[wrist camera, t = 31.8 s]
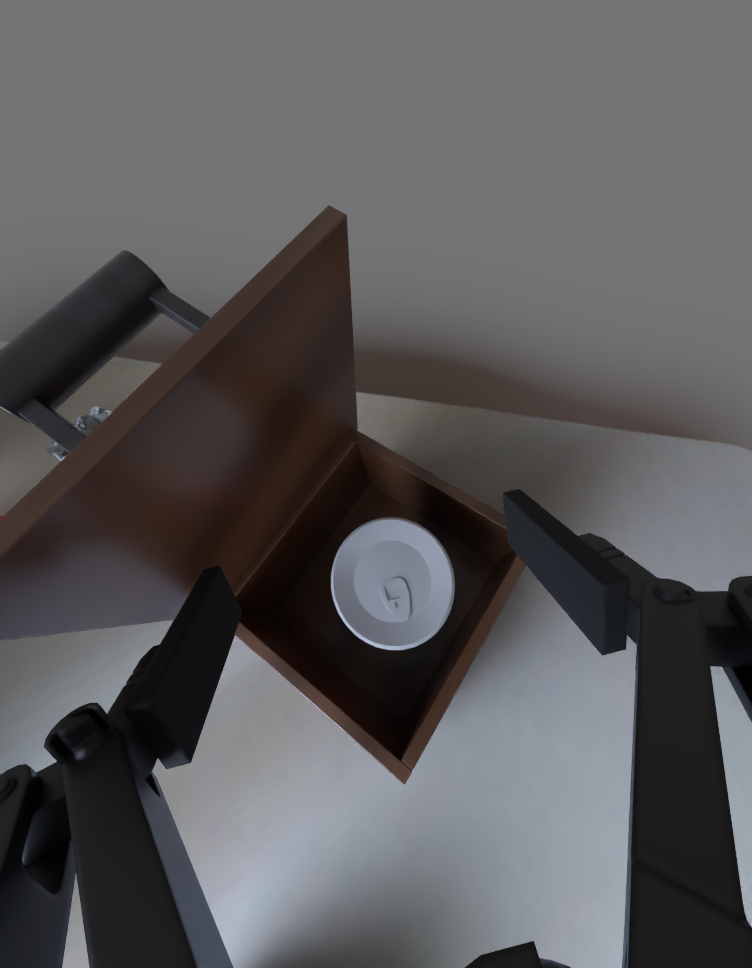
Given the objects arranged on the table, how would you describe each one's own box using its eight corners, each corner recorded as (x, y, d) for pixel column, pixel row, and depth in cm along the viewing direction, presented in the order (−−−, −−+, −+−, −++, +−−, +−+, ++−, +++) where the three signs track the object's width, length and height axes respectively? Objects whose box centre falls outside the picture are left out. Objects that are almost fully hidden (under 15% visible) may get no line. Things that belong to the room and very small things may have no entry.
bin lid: (347, 214, 12) (184, 125, 13) (-98, 654, 8) (-283, 468, 9) (358, 428, 28) (282, 379, 29) (209, 615, 24) (127, 549, 25)
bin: (506, 562, 33) (542, 536, 24) (406, 736, 29) (404, 785, 20) (368, 477, 37) (354, 428, 28) (264, 617, 33) (209, 612, 24)
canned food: (387, 663, 30) (375, 680, 20) (338, 581, 33) (305, 560, 23) (461, 609, 31) (485, 598, 21) (407, 534, 34) (405, 493, 24)
